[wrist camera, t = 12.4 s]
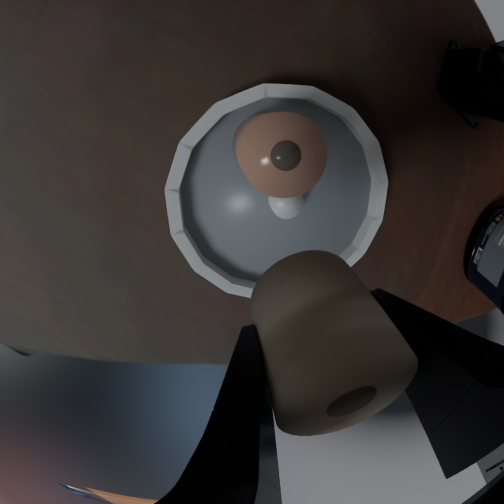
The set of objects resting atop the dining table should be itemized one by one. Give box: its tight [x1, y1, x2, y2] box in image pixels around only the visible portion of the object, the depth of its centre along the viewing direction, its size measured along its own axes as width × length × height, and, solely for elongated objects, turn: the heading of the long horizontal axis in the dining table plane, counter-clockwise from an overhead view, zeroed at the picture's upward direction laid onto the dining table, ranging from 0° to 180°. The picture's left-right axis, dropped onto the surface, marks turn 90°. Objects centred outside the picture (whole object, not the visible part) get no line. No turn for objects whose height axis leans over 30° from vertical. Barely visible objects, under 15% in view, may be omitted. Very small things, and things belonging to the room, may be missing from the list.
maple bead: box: [250, 250, 418, 436], centre depth 8 cm, size 4×4×5 cm
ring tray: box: [165, 84, 388, 298], centre depth 17 cm, size 14×14×2 cm
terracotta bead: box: [233, 112, 328, 198], centre depth 13 cm, size 4×4×5 cm
